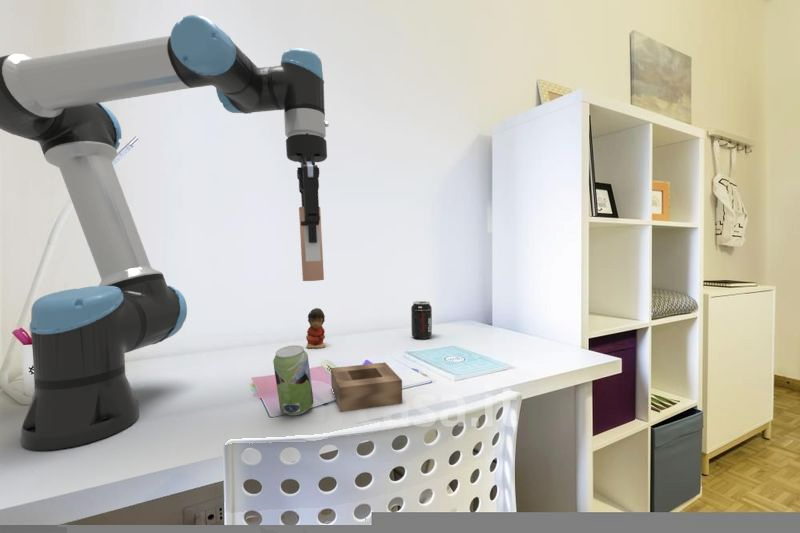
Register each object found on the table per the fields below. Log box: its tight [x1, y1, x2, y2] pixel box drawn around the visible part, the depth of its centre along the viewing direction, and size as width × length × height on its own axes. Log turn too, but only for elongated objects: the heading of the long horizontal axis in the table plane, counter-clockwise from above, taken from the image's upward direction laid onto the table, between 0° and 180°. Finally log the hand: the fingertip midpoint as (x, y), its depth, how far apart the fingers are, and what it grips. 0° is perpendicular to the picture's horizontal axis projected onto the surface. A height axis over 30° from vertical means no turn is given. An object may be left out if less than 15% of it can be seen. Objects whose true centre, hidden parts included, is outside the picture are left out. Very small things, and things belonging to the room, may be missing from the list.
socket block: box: [330, 362, 403, 412], centre depth 76 cm, size 12×12×4 cm
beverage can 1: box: [272, 345, 314, 416], centre depth 69 cm, size 6×7×12 cm
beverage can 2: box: [410, 300, 433, 340], centre depth 126 cm, size 7×7×12 cm
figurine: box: [305, 307, 326, 349], centre depth 115 cm, size 6×6×12 cm
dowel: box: [298, 206, 325, 282], centre depth 72 cm, size 4×4×14 cm
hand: (312, 260), depth 72 cm, fingers closed on dowel, 4 cm apart
